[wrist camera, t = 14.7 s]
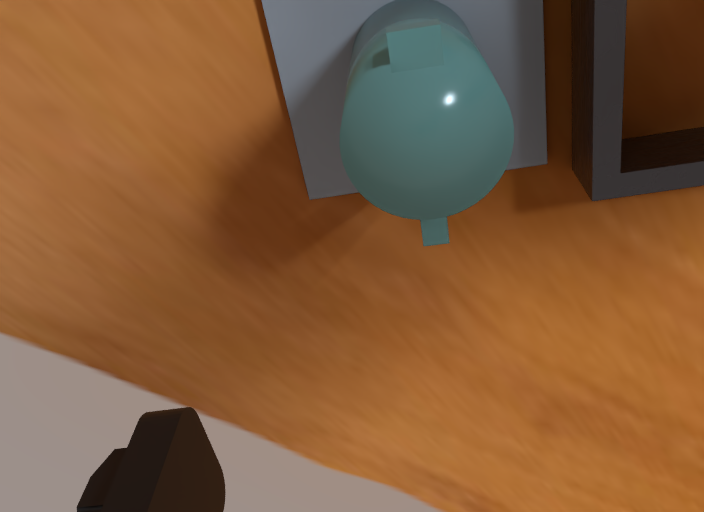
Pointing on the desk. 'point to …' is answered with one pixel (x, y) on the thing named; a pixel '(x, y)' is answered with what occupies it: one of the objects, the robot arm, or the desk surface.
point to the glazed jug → (423, 116)
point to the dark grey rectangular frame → (619, 116)
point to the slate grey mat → (334, 61)
